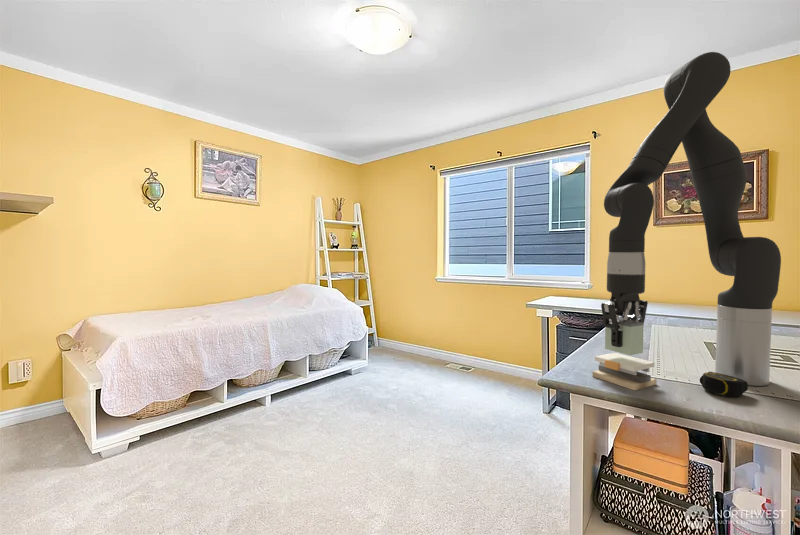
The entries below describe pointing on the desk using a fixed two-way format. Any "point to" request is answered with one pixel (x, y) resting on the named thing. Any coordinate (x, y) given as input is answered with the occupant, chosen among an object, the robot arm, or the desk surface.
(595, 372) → the rail stand
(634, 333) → the block
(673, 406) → the desk surface
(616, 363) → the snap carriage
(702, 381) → the tape measure
